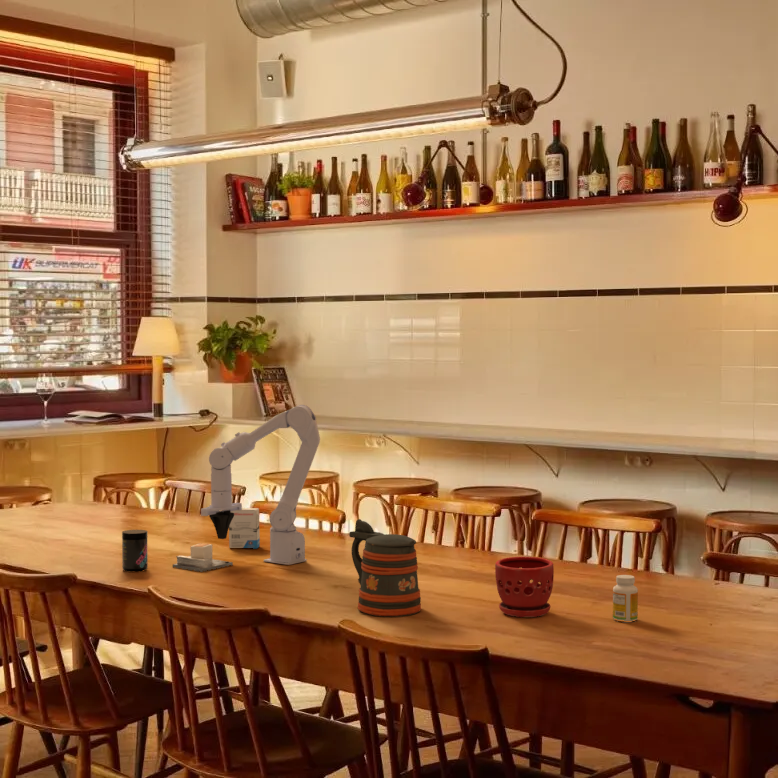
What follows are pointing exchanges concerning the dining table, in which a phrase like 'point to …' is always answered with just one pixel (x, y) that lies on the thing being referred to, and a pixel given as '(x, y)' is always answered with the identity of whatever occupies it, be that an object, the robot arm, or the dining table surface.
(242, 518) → the ink box
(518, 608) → the plant pot
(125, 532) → the supplement container
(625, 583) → the supplement bottle
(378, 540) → the beer stein
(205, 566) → the rail plate
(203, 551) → the block
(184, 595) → the dining table surface
